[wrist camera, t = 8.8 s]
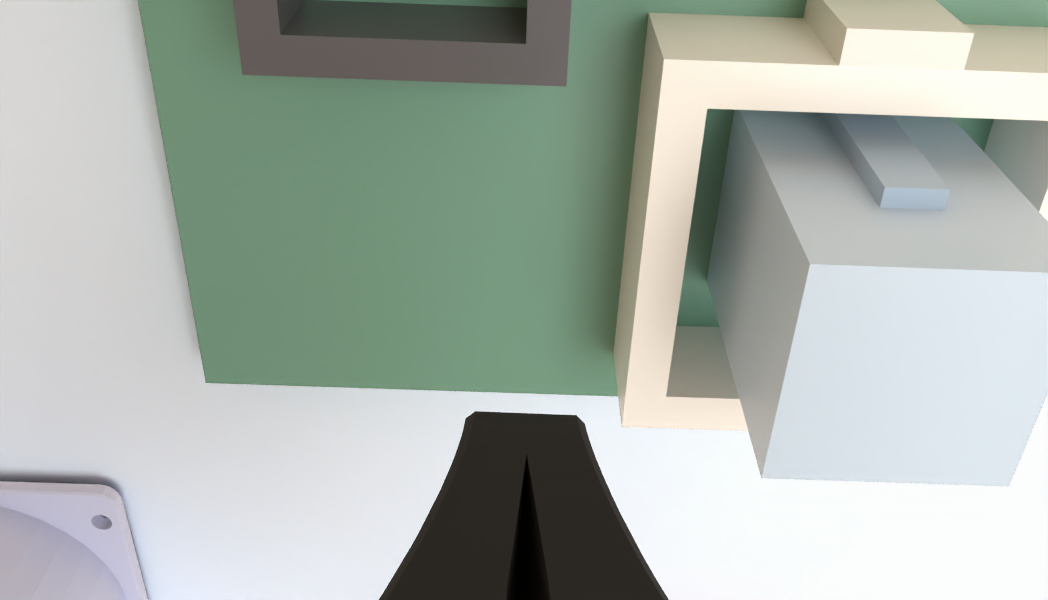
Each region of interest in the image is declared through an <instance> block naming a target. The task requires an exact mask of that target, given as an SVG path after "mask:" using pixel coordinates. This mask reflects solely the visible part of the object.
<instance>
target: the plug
mask: <svg viewBox="0 0 1048 600" xmlns="http://www.w3.org/2000/svg"><path fill="white" fill-rule="evenodd" d="M707 284H708V288H709V291H710V295H711V298H712V302H713V306H714V309H715V313H716V316H717V320H718V324H719V327H720V331H721V334H722V338H723V341H724V345H725V349H726V352H727V356H728V359H729V363H730V367H731V370H732V374H733V377H734V381H735V384H736V388H737V392H738V395H739V399H740V402H741V406H742V410H743V413H744V417H745V420H746V424H747V427H748V431H749V435H750V438H751V442H752V445H753V449H754V453H755V456H756V460H757V463H758V467H759V470H760V474H761V478H776V479H806V480H836V481H865V482H895V483H925V484H955V485H985V486H1009V485H1010V483H1011V480H1012V478H1013V475H1014V473H1015V471H1016V468H1017V466H1018V463H1019V461H1020V459H1021V456H1022V454H1023V451H1024V449H1025V446H1026V444H1027V442H1028V439H1029V437H1030V434H1031V432H1032V429H1033V427H1034V425H1035V422H1036V420H1037V417H1038V415H1039V413H1040V410H1041V408H1042V405H1043V403H1044V400H1045V398H1046V396H1047V393H1048V221H1047V220H1046V219H1045V218H1044V217H1043V216H1042V215H1041V214H1040V212H1039V211H1038V210H1037V209H1036V208H1035V207H1034V206H1033V205H1032V204H1031V203H1030V202H1029V200H1028V199H1027V198H1026V197H1025V196H1024V195H1023V194H1022V193H1021V192H1020V191H1019V190H1018V188H1017V187H1016V186H1015V185H1014V184H1013V183H1012V182H1011V181H1010V180H1009V179H1008V178H1007V177H1006V175H1005V174H1004V173H1003V172H1002V171H1001V170H1000V169H999V168H998V167H997V166H996V165H995V163H994V162H993V161H992V160H991V159H990V158H989V157H988V156H987V155H986V154H985V153H984V152H983V150H982V149H981V148H980V147H979V146H978V145H977V144H976V143H975V142H974V141H973V140H972V138H971V137H970V136H969V135H968V134H967V133H966V132H965V131H964V130H963V129H962V128H961V127H960V125H959V124H958V123H957V122H956V121H955V120H954V119H953V118H952V117H929V116H901V115H874V114H846V113H818V112H790V111H762V110H734V115H733V122H732V128H731V134H730V140H729V146H728V153H727V159H726V165H725V171H724V177H723V183H722V190H721V196H720V202H719V208H718V214H717V220H716V227H715V233H714V239H713V245H712V251H711V257H710V264H709V270H708V276H707Z"/></svg>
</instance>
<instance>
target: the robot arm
mask: <svg viewBox="0 0 1048 600" xmlns="http://www.w3.org/2000/svg"><path fill="white" fill-rule="evenodd" d="M101 515H102V516H106V517H107V518H104V517H102V516H101ZM0 600H148V598H147V594H146V590H145V586H144V582H143V578H142V575H141V571H140V567H139V563H138V559H137V555H136V551H135V547H134V543H133V539H132V536H131V532H130V528H129V524H128V520H127V516H126V512H125V508H124V504H123V500H122V498H121V496H120V494H119V493H118V492H117V491H116V490H114V489H113V488H111V487H109V486H106V485H100V484H70V483H38V482H6V481H0ZM379 600H668V598H667V596H666V595H665V593H664V591H663V590H662V588H661V587H660V585H659V583H658V582H657V580H656V578H655V577H654V575H653V573H652V571H651V570H650V568H649V566H648V564H647V563H646V561H645V559H644V557H643V556H642V554H641V552H640V550H639V548H638V546H637V544H636V543H635V541H634V539H633V537H632V535H631V533H630V531H629V529H628V527H627V525H626V523H625V522H624V520H623V518H622V516H621V514H620V512H619V510H618V508H617V506H616V504H615V501H614V499H613V497H612V495H611V493H610V491H609V488H608V486H607V484H606V482H605V479H604V477H603V475H602V472H601V470H600V468H599V465H598V463H597V460H596V458H595V455H594V452H593V449H592V447H591V444H590V441H589V438H588V434H587V431H586V427H585V424H584V423H583V422H582V421H581V420H580V419H579V418H578V417H577V416H576V415H552V414H527V413H501V412H476V411H475V412H474V413H473V414H471V415H470V416H469V417H467V418H466V420H465V424H464V429H463V433H462V437H461V440H460V443H459V446H458V449H457V452H456V455H455V457H454V460H453V462H452V465H451V467H450V470H449V472H448V474H447V476H446V479H445V481H444V483H443V486H442V488H441V490H440V492H439V494H438V496H437V498H436V500H435V502H434V504H433V506H432V508H431V510H430V512H429V514H428V516H427V518H426V520H425V522H424V524H423V526H422V528H421V530H420V532H419V534H418V535H417V537H416V539H415V541H414V543H413V544H412V546H411V548H410V549H409V551H408V553H407V554H406V556H405V558H404V559H403V561H402V563H401V564H400V566H399V568H398V569H397V571H396V573H395V574H394V576H393V578H392V579H391V581H390V583H389V584H388V586H387V588H386V589H385V591H384V593H383V594H382V596H381V597H380V599H379Z"/></svg>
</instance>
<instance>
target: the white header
mask: <svg viewBox="0 0 1048 600" xmlns="http://www.w3.org/2000/svg"><path fill="white" fill-rule="evenodd" d="M707 109H734V110H762V111H790V112H818V113H846V114H874V115H901V116H929V117H957V118H985V119H994V121H993V124H992V128H991V131H990V134H989V137H988V140H987V144H986V147H985V150H984V153H985V154H986V155H987V156H988V157H989V158H990V159H991V160H992V161H993V162H994V163H995V165H996V166H997V167H998V168H999V169H1000V170H1001V171H1002V172H1003V173H1004V174H1005V175H1006V177H1007V178H1008V179H1009V180H1010V181H1011V182H1012V183H1013V184H1014V185H1015V186H1016V187H1017V188H1018V190H1019V191H1020V192H1021V193H1022V194H1023V195H1024V196H1025V197H1026V198H1027V199H1028V200H1029V202H1030V203H1031V204H1032V205H1033V206H1034V207H1035V208H1036V209H1037V210H1038V211H1039V212H1040V214H1041V215H1042V216H1043V217H1044V218H1045V219H1046V220H1047V221H1048V27H1029V26H1002V25H975V24H963V23H962V22H961V21H960V20H958V19H957V18H956V17H955V16H954V15H952V14H951V13H950V12H949V11H948V10H946V9H945V8H944V7H943V6H942V5H941V4H939V3H938V2H937V1H936V0H807V1H806V6H805V12H804V17H803V18H785V17H758V16H731V15H704V14H677V13H650V12H649V14H648V24H647V33H646V43H645V53H644V62H643V72H642V82H641V92H640V101H639V111H638V121H637V130H636V140H635V150H634V159H633V169H632V179H631V188H630V198H629V208H628V217H627V227H626V237H625V246H624V256H623V266H622V275H621V285H620V295H619V304H618V314H617V324H616V333H615V343H614V353H613V354H614V363H615V372H616V380H617V389H618V398H619V406H620V415H621V424H622V427H647V428H678V429H709V430H740V431H748V427H747V424H746V420H745V417H744V413H743V410H742V406H741V402H740V399H739V395H738V392H737V388H736V384H735V381H734V377H733V374H732V370H731V367H730V363H729V359H728V356H727V352H726V349H725V345H724V341H723V338H722V334H721V331H720V327H699V326H676V324H677V317H678V310H679V303H680V296H681V289H682V282H683V275H684V268H685V261H686V254H687V247H688V240H689V233H690V226H691V219H692V212H693V205H694V198H695V191H696V184H697V177H698V170H699V163H700V156H701V149H702V142H703V135H704V128H705V121H706V114H707Z"/></svg>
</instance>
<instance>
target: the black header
mask: <svg viewBox="0 0 1048 600" xmlns="http://www.w3.org/2000/svg"><path fill="white" fill-rule="evenodd" d="M571 3H572V0H527V8H515V7H488V6H461V5H434V4H407V3H380V2H353V1H326V0H233V4H234V12H235V20H236V28H237V36H238V44H239V52H240V60H241V68H242V75H259V76H287V77H315V78H343V79H370V80H398V81H426V82H453V83H481V84H509V85H536V86H564V87H566V85H567V69H568V52H569V36H570V19H571Z"/></svg>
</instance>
